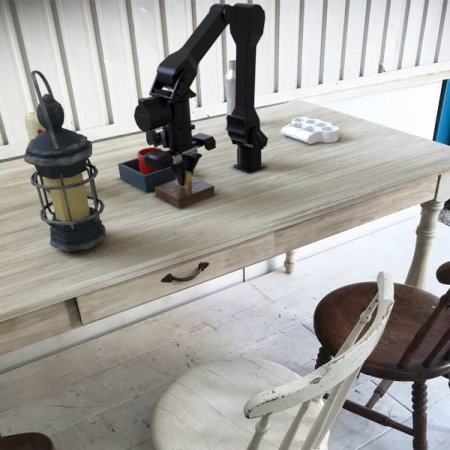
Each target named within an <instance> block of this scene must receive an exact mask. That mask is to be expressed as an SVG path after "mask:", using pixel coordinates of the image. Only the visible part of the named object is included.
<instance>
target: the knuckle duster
mask: <svg viewBox="0 0 450 450" xmlns="http://www.w3.org/2000/svg"><path fill="white" fill-rule="evenodd" d="M280 134H281V135H284V136H286V137H289V138H292V139H295V140H298V141H301V142H303V143H306V144H308V145H313V144H316V143H324V144H325V143H327V144H329V143H330V144H331V143H336V142H338V141H339V137H340V128H339V126H334V125H333V124H332V123H331V122H328V121H324V120H322V119H318V118H308V117H306V116H298V117H293V118H292V119H291V123H289V124H287V125H284V126H283V127H282V128H281V130H280Z"/></svg>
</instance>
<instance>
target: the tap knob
mask: <svg viewBox="0 0 450 450" xmlns="http://www.w3.org/2000/svg"><path fill="white" fill-rule="evenodd" d="M192 176H193V174H192V175H191V172H189V171H186V170H185V181H184V186H181V187H183V188H186V189H191V188H192ZM176 185H178V186H180V185H179V183H178V181H177V179H176Z"/></svg>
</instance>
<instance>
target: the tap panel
mask: <svg viewBox="0 0 450 450" xmlns="http://www.w3.org/2000/svg"><path fill="white" fill-rule="evenodd" d="M154 194H155V197H156V198H158V199H160V200H161V201H164V203H165V202H166V203H167V204H170V205H171V206H173V207H175V208H177V209H179V210H180V209H183V208H185V207H188V206H190V205H193V204H196V203H198V202H200V201H201V202H202V201H204V200H206V199H208V198H211V197H213V196H215V194H216V192H215V185H214V184H212V183H209V182H207V181H205V180H202V179H200V178H197V177H195V176H193V175H192V188H191V189H186V188H183V187H181V186H178V185H176V180H174V181H171V182H168V183H165V184H163V185H160V186H157V187H155V190H154Z"/></svg>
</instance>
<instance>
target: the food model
mask: <svg viewBox="0 0 450 450" xmlns="http://www.w3.org/2000/svg"><path fill="white" fill-rule="evenodd" d="M24 124H25V128H26V132H27V138H28V143H29V142H30V141H31V140H32V139H34V138H36V136H37V135H38V134H40V133H41V132H43V131H45V130H46V129H45V128H44V127H42V126H41V124H40V123H39V121H38V118H37V111H32V112H28V113H26V114H25V115H24ZM42 179H43V183H44V185H47V186H48V182H47V178H45V177H42ZM45 190H46V193H49V194H50V190H48V189H45Z"/></svg>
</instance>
